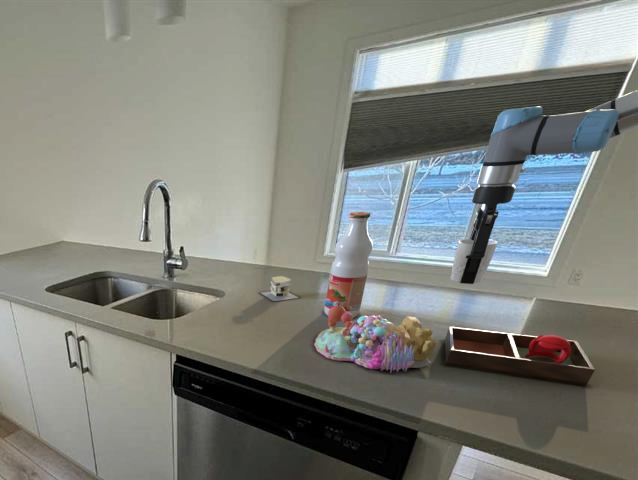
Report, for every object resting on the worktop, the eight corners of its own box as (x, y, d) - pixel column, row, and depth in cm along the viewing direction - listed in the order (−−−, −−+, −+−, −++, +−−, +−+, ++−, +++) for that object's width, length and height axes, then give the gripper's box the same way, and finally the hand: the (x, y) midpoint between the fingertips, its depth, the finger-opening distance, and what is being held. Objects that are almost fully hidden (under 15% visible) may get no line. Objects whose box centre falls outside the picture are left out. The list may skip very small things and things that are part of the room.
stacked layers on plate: (259, 292, 142) (261, 277, 139) (283, 289, 143) (285, 274, 140) (273, 301, 133) (275, 285, 131) (298, 297, 134) (301, 281, 132)
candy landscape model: (414, 332, 105) (424, 298, 100) (448, 376, 85) (462, 336, 81) (310, 329, 112) (315, 297, 107) (320, 369, 93) (326, 332, 88)
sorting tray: (568, 356, 88) (577, 340, 87) (585, 386, 78) (595, 369, 77) (444, 340, 100) (449, 326, 98) (445, 365, 90) (450, 349, 88)
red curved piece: (523, 351, 90) (535, 326, 87) (561, 357, 87) (574, 331, 84) (524, 365, 85) (536, 339, 82) (563, 372, 81) (577, 345, 78)
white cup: (480, 276, 110) (493, 238, 105) (488, 284, 104) (502, 244, 99) (444, 275, 113) (455, 238, 108) (450, 283, 107) (462, 244, 102)
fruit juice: (362, 319, 115) (386, 214, 101) (327, 319, 117) (345, 216, 103) (353, 307, 123) (374, 209, 109) (320, 308, 125) (336, 211, 111)
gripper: (523, 188, 88) (487, 291, 99) (511, 179, 102) (480, 270, 113) (479, 190, 92) (449, 288, 103) (473, 181, 106) (447, 268, 117)
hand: (465, 278), depth 108 cm, fingers closed on white cup, 8 cm apart
